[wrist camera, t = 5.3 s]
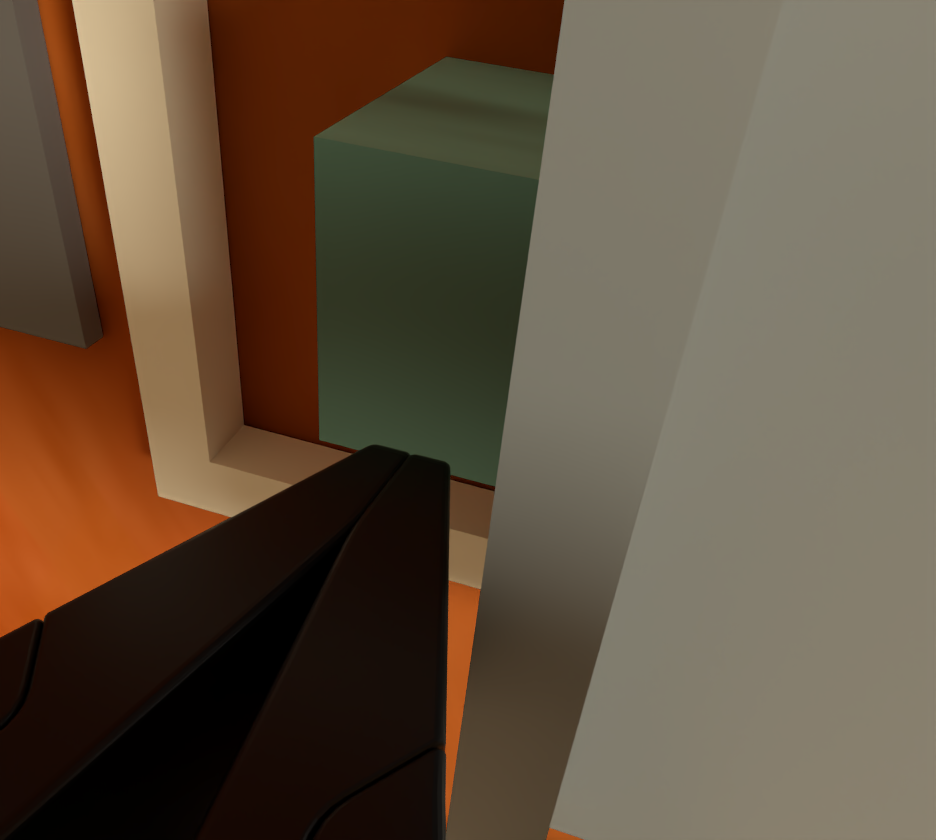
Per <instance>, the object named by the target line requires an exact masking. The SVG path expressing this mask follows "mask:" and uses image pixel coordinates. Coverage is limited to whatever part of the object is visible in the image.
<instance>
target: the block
mask: <svg viewBox="0 0 936 840" xmlns="http://www.w3.org/2000/svg"><path fill="white" fill-rule="evenodd" d="M553 78H554V75H553V74H547V73H541V72H535V71H529V70H523V69H517V68H511V67H505V66H499V65H493V64H487V63H481V62H475V61H469V60H463V59H457V58H451V57H445V58H443V59H442V60H440V61H438V62H437V63H435V64H433V65H432V66H430V67H428V68H427V69H425V70H423V71H422V72H420V73H418V74H417V75H415V76H413V77H412V78H410V79H408V80H407V81H405V82H404V83H402V84H400V85H399V86H397V87H395V88H394V89H392V90H390V91H389V92H387V93H385V94H384V95H382V96H380V97H379V98H377V99H375V100H374V101H372V102H370V103H369V104H367V105H365V106H364V107H362V108H360V109H359V110H357V111H355V112H354V113H352V114H350V115H349V116H347V117H345V118H344V119H342V120H341V121H339V122H337V123H336V124H334V125H332V126H331V127H329V128H327V129H326V130H324V131H322V132H321V133H319V134H317V135H316V136H314V179H315V233H316V287H317V341H318V395H319V440H321V441H325V442H329V443H333V444H337V445H340V446H344V447H348V448H352V449H355V450H361V449H363V448H365V447H367V446H369V445H373V444H376V445H382V446H386V447H390V448H394V449H398V450H402V451H406V452H408V453H409V454H410V455H414V454H417V455H421V456H425V457H429V458H433V459H437V460H441V461H445V462H447V463H448V464H449V466H450V470H451V475H453V476H457V477H461V478H465V479H468V480H472V481H476V482H480V483H483V484H487V485H491V486H496V479H497V472H498V465H499V458H500V451H501V444H502V437H503V430H504V423H505V416H506V409H507V402H508V394H509V387H510V380H511V373H512V366H513V359H514V352H515V345H516V338H517V331H518V324H519V317H520V310H521V303H522V296H523V289H524V282H525V275H526V268H527V261H528V254H529V247H530V240H531V233H532V226H533V219H534V212H535V205H536V198H537V191H538V184H539V177H540V170H541V162H542V155H543V148H544V141H545V134H546V127H547V120H548V113H549V106H550V99H551V92H552V85H553Z"/></svg>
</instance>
